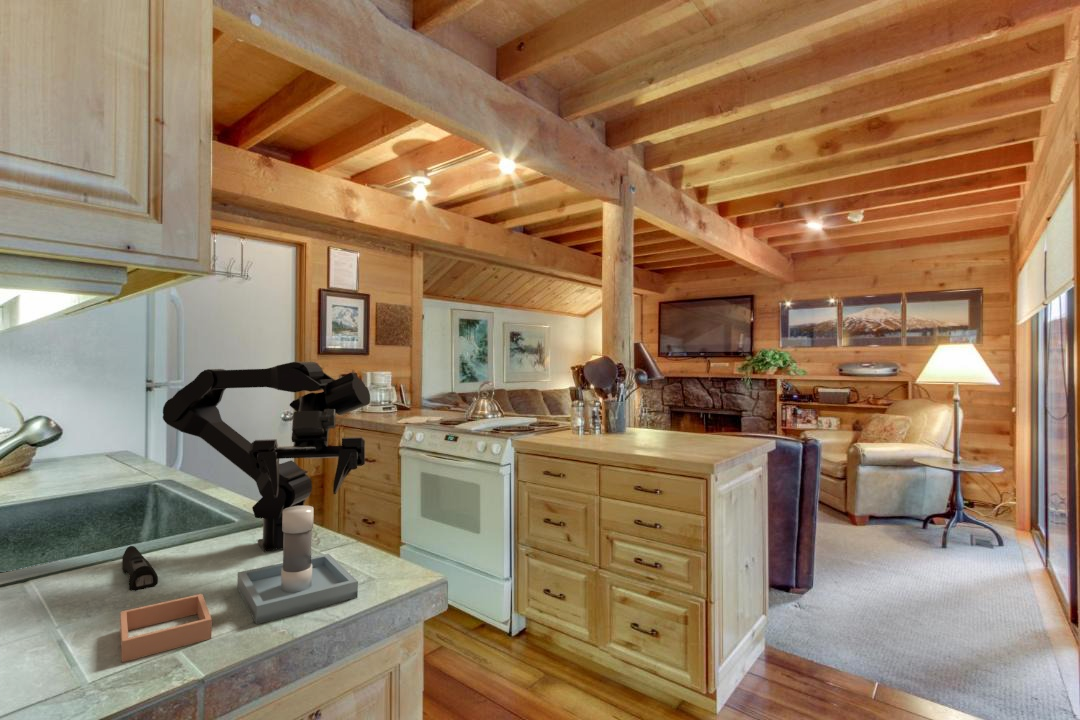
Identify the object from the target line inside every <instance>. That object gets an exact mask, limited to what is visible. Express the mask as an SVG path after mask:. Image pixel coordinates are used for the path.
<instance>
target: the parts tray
mask: <svg viewBox="0 0 1080 720" xmlns="http://www.w3.org/2000/svg"><path fill="white" fill-rule="evenodd" d="M311 564H312V586H311V587H310V588H308V589H306V590H304V591H300V592H293V593H289V592H284V591H282V590H281V569H282V567H283V562H282V563H276V564H272V565H268V566H267V565H266V566H263V567H262V566H261V567H258V568H253V569H249V570H242V571H239V572H237V578H236V579H237V581H236V582H237V583H236V584H237V585H236V586H237V591H238V593H239V594H240V596H241V597H242V600H243V602H244V604H245V606H246V607H247V609H248V611H249V613H250V615H251V617H252V619H253V620H254V623H255V624H256V625H259V624H262V623H267V622H270V621H274V620H278V619H281V618H286V617H289V616H292V615H297V614H299V613H304V612H307V611H308V612H309V611H311V610H316V609H319V608H324V607H328V606H331V605H334V604H339V603H342V602H345V601H344V600H346V601H349V600H348V599H350V600H354V599H357V598H358V596H359V595H358V591H359V581H358V580H357V579H356V578H355V577H354V576H353V575H352V574H351V573H350V572H349V571H348V570H347V569H346V568H344V567H343V566H342V565H341V563H339V561H337V560H336V559H335V558H334V557H333V556H332V555H331V554H330V553H326V554H319V555H316V556H311ZM353 598H354V599H353ZM341 601H342V602H341ZM338 602H339V603H338Z"/></svg>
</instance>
